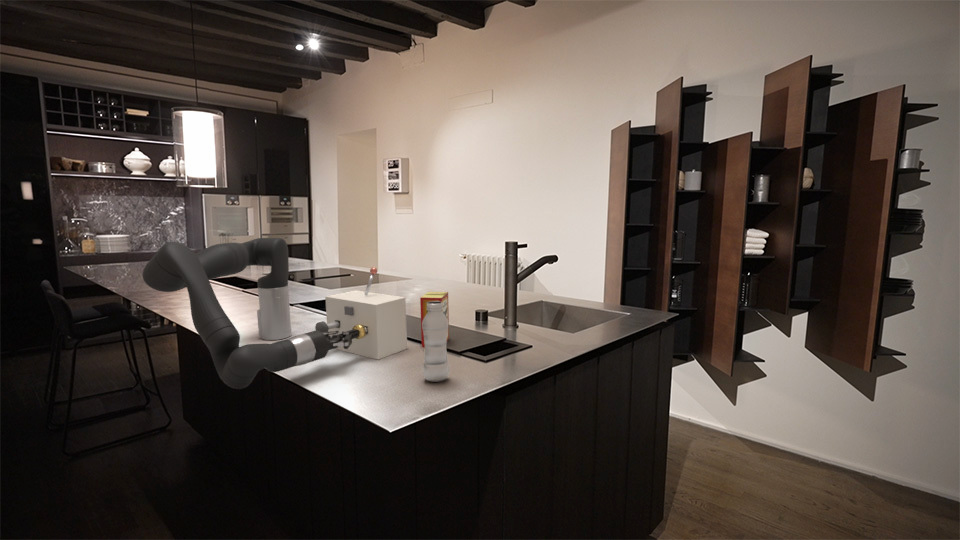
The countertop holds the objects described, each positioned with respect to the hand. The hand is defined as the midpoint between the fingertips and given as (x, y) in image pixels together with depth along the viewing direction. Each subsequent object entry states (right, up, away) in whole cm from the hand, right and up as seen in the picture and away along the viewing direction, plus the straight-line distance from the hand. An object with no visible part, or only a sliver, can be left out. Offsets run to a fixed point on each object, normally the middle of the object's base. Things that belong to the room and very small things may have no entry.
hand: (357, 332), depth 137 cm
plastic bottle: (+24, -10, -15) cm, 30 cm away
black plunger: (-10, -1, +7) cm, 12 cm away
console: (0, -6, +12) cm, 14 cm away
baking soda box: (+21, -6, +16) cm, 27 cm away
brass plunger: (+2, -1, +3) cm, 4 cm away
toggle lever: (0, +10, +10) cm, 14 cm away
